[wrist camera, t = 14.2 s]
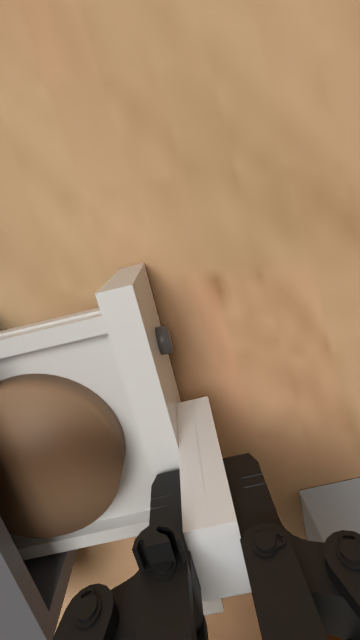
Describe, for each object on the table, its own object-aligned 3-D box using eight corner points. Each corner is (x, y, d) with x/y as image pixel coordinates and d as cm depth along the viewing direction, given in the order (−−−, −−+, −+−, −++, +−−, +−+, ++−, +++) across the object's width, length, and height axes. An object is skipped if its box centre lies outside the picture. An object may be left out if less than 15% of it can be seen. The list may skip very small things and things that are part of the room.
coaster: (145, 489, 17) (143, 515, 16) (3, 525, 18) (-13, 553, 16) (93, 354, 15) (85, 368, 14) (-69, 398, 16) (-95, 417, 14)
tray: (-45, 562, 20) (-119, 681, 15) (-176, 340, 16) (-344, 398, 11) (217, 505, 20) (235, 609, 15) (154, 260, 15) (147, 280, 10)
